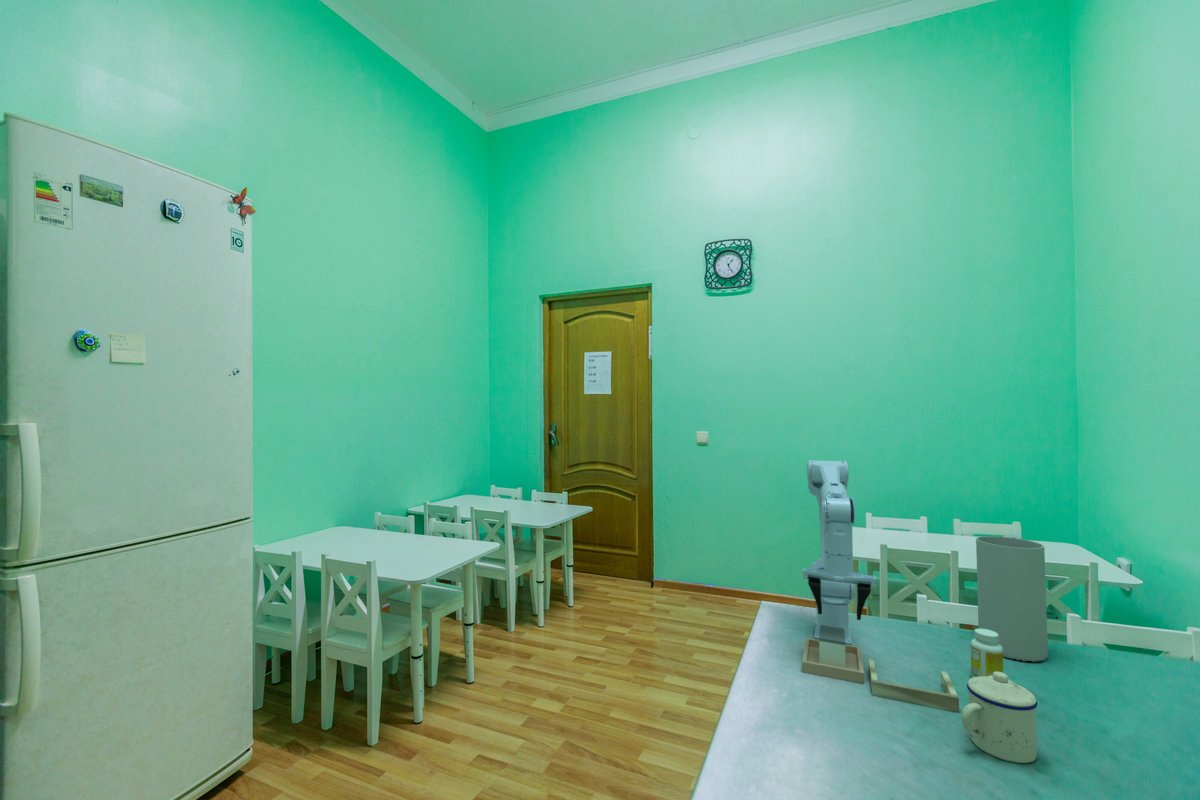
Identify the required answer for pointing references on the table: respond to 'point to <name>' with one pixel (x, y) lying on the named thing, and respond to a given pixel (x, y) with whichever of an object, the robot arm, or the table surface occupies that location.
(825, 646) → the grey-green upright block
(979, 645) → the supplement bottle
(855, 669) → the tray
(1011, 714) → the teacup with lid
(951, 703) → the bay
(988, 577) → the cylinder vase
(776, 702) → the table surface
